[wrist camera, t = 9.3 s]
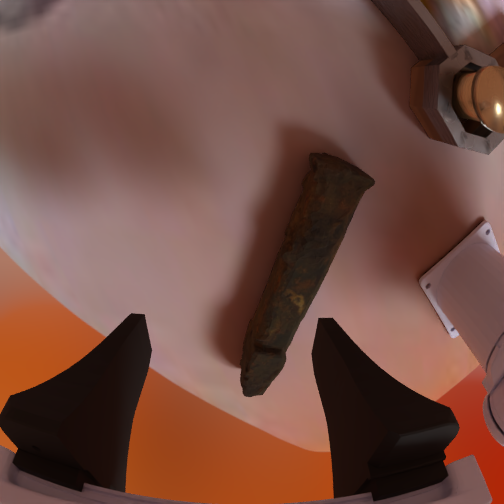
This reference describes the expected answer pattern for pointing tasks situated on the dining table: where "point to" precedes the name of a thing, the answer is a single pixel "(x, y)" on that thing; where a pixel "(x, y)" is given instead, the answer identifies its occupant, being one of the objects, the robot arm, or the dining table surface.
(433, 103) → the grey ring with handle
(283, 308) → the hand tool
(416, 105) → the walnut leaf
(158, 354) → the dining table surface
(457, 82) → the bronze pin
